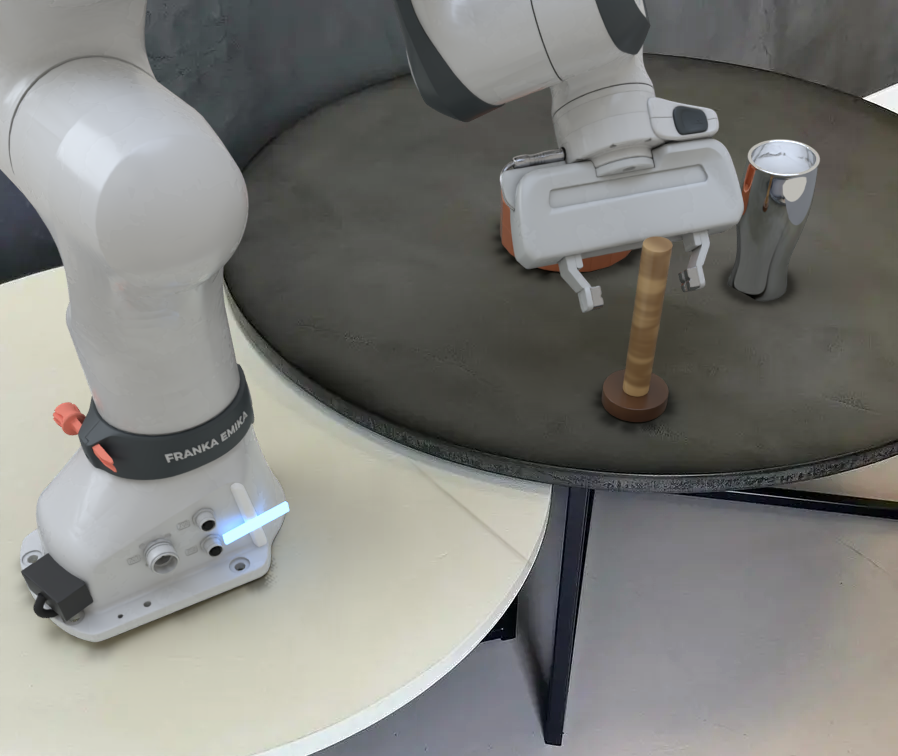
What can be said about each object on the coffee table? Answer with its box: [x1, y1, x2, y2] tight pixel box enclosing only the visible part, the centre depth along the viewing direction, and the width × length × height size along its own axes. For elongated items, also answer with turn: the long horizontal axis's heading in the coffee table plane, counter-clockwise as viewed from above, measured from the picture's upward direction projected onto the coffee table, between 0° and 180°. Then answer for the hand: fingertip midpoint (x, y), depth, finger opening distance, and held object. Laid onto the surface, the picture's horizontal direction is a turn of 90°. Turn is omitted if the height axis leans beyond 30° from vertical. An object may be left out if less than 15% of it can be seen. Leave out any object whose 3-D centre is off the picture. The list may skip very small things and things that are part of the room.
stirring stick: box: [601, 236, 674, 423], centre depth 86 cm, size 6×6×16 cm
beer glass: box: [727, 138, 821, 302], centre depth 98 cm, size 7×7×15 cm
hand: (644, 299), depth 85 cm, fingers open, 8 cm apart
